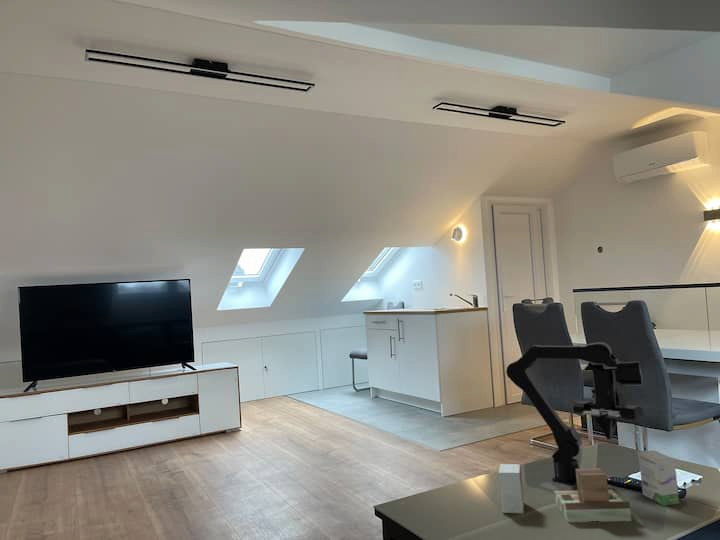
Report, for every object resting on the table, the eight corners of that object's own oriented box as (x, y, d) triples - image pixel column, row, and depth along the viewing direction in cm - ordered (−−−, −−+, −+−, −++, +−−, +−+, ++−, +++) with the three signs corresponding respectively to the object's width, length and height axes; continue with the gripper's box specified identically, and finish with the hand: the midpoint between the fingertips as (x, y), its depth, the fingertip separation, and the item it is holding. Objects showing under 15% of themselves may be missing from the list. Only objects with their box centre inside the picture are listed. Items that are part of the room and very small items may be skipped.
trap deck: (555, 502, 142) (553, 485, 142) (613, 501, 140) (611, 483, 140) (567, 522, 129) (565, 503, 130) (631, 521, 127) (629, 502, 128)
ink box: (680, 504, 135) (675, 457, 136) (663, 506, 135) (657, 459, 135) (658, 492, 144) (653, 449, 144) (642, 494, 143) (637, 450, 144)
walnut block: (578, 500, 135) (575, 469, 135) (603, 500, 134) (599, 468, 134) (584, 508, 130) (581, 475, 130) (609, 507, 129) (606, 474, 129)
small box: (523, 514, 136) (519, 473, 137) (501, 513, 138) (497, 472, 138) (524, 502, 144) (520, 463, 144) (503, 501, 145) (499, 463, 146)
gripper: (649, 383, 152) (655, 438, 150) (588, 379, 166) (593, 429, 165) (630, 389, 145) (637, 446, 144) (569, 384, 160) (574, 436, 158)
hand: (609, 439), depth 153 cm, fingers closed
